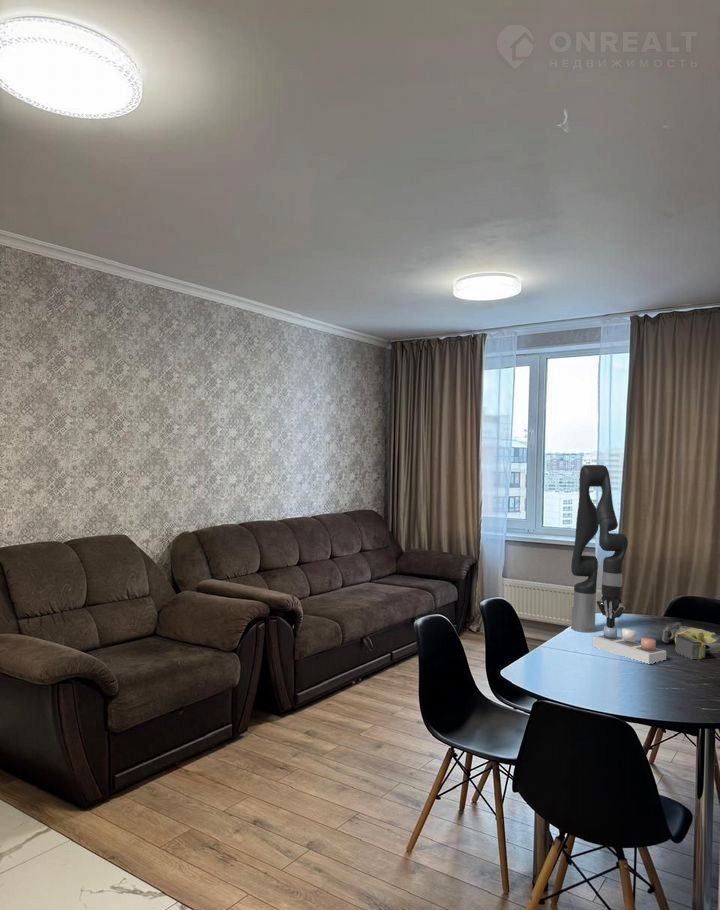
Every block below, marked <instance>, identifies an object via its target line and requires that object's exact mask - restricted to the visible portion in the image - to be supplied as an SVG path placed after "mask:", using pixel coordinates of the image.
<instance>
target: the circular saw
mask: <svg viewBox="0 0 720 910" xmlns="http://www.w3.org/2000/svg"><path fill="white" fill-rule="evenodd" d="M673 640H674V644H675V648H674V651H675V653H676V652H677V653H676V654H678V653H679V654H678V655H680V654H681V656H682V655H684V656H685V658H686V657H688V658H687V659H689V658H690V659H689V660H691V659H703V658H704V659H705V657H706V653H716V652H720V635H718V634H717V633H715V632H711V631H708V630H704V629H703V628H697V627H696V628H695V627H691V626H686V625H684V626H682V622H678V621H676V622H673V623H669V624H666V625H665V627H664V628H663V630H662V636H661V641H662V642H663V643H664V644H665V643H666V645H668V644H670V643H671V642H672V641H673ZM670 641H671V642H670ZM684 656H683V657H684Z"/></svg>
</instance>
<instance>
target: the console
mask: <svg viewBox="0 0 720 910" xmlns="http://www.w3.org/2000/svg"><path fill="white" fill-rule="evenodd" d="M592 639H593V640H592V647H593V648H597V649H599V650H602V651H605V652H608V653H611V654H615V655H618V656H621V657H622V656H625V657H624V658H626V657H628V658H627V659H629V658H631V659H630V660H633V659H635V660H634V661H636V660H638V661H637V662H640V661H642V662H641V663H643V662H645V663H648V664H650V663H655V662H656V663H660V662H659V661H661V662H664V661H663V660H666V661H667V650H664V649H661V648H657V647H656V650H655V651H647V650H643V649H641V642H638V641H636V640H635V641H628V640H624V639H622V636H618V635H617V638H608V637H605V636H604V634H601V635H596V636H593V638H592Z"/></svg>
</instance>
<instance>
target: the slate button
mask: <svg viewBox="0 0 720 910" xmlns="http://www.w3.org/2000/svg"><path fill="white" fill-rule="evenodd" d="M603 635H604V636H605V637H608V638H617V636H618V627H616V626H614V627H613V628H609V627H607V625H604V626H603Z"/></svg>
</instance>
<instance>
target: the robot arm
mask: <svg viewBox="0 0 720 910" xmlns="http://www.w3.org/2000/svg"><path fill="white" fill-rule="evenodd" d="M578 483H579V484H578V485H579V487H578V489H579V490H578V495H579V496H578V505H577V515H576V522H575V523H576V524H575V539H574V545H573V546H574V547H573V551H572V558H571V566H570V567H571V573H572V575H573V576H575V577H584V578H585V577H587V579H585V580H584V581H581V582H577V583H575V584H574V586H573V587H574V589H573V606H571V614H570V615H571V616H570V617H571V619H570V629H571V630H573V631H574V632H577V633H584V634H590V633H591V634H592V633H595V632H596V630H595V629H596V609H597V608H596V607H597V606H598V608H599V611H600V613H601V614H602V615H603V616H605V617H606V626H607V627H609V628H613V627H616V626H615V625H616V619H619V618H620V617H621V616H622V615H623V614H624V613H625V612H626V610H627V609H628V608H627V606H624V604H622V599H621V598H622V596H623V561H624V558H625V554H626V552H627V549H628V544H629V541H628V538H627V536H626V535H625V534H623V533H613V532H612V533H611V531H615V530H617V528H618V525H619V523H618V520H617V516H616V512H615V508H614V503H613V496H612V487H611V485H612V484H611V477H610V472H609V469H608V467H607V466H606V465H603V464H602V465H601V464H585V465H582V466H581V468H580V472H579V481H578ZM592 487H596V488H597V487H600V488H601V495H600V497H599V498H600V499H599V501H598V502H597V506H596V505H595V504H594V502H593V500H592V499H591V495H590V494H591V493H590V488H592ZM598 531H599V537H598V544H599V547H600V549H601V550H602V551H605V552H613V554H612V555H610V556H606V557H604V558H603V562H602V563H603V564H602V576H601V595H602V596H601V599H600V600H597V584H598V582H597V581H598V569H599V562H598V558H597V556H595V555H583V552H584V550H585V549H586V547H587V545H588V544H589V543H590V542H591V541H592V539H593V538H594V537H595V536H596V535H597V533H598ZM596 605H597V606H596Z"/></svg>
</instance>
